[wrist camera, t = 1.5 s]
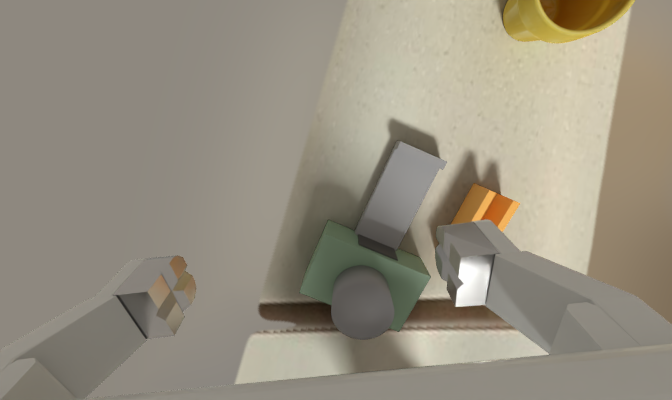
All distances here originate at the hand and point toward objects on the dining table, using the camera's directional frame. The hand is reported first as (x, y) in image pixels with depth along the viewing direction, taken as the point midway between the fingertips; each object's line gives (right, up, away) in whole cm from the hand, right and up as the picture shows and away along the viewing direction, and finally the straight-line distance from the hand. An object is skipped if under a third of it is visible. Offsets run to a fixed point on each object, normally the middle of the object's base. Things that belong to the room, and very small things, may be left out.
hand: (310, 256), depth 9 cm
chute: (+21, -2, +35) cm, 41 cm away
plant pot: (+26, +26, +27) cm, 45 cm away
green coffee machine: (+8, -2, +35) cm, 36 cm away
